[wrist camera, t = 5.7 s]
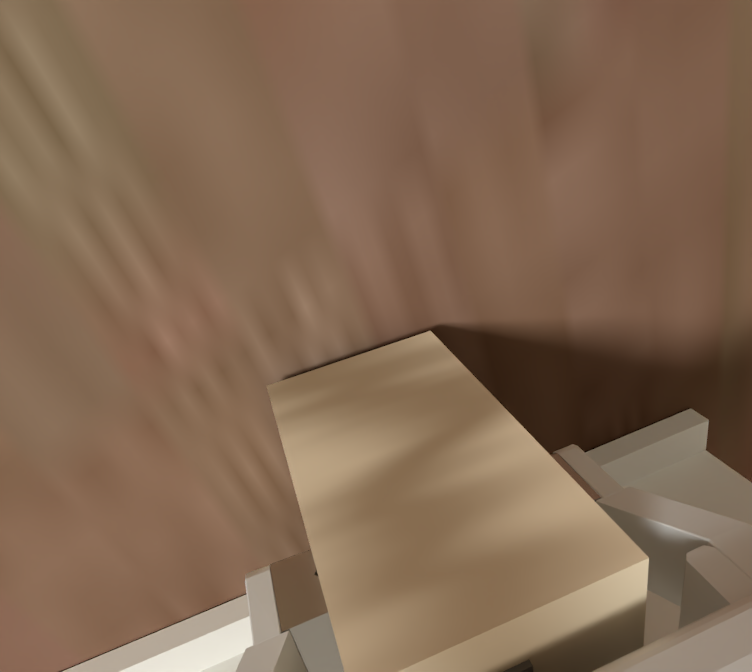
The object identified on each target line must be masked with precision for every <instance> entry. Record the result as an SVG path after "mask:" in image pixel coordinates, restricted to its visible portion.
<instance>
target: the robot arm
mask: <svg viewBox="0 0 752 672" xmlns="http://www.w3.org/2000/svg"><path fill="white" fill-rule="evenodd" d="M549 454H550V455H551V456H552V457H553V458H554V459H555V461H556V462H557V463H558V464H559V465H560V466H561V467H562V468H563V469H564V470H565V471H566V472H567V473H568V474H569V475H570V476H571V477H572V478H573V479H574V480H575V481H576V482H577V483H578V484H579V485H580V487H581V488H582V489H583V490H584V491H585V492H586V493H587V494H588V495H589V496H590V497H591V498H592V499H593V500H594V501H595V502H596V503H597V504H598V505H599V506H600V507H601V508H602V509H603V510H604V511H605V512H606V514H607V515H608V516H609V517H610V518H611V519H612V520H613V521H614V522H615V523H616V524H617V525H618V526H619V527H620V528H621V529H622V530H623V531H624V532H625V533H626V534H627V535H628V536H629V537H630V538H631V540H632V541H633V542H634V543H635V544H636V545H637V546H638V547H639V548H640V549H641V550H642V551H643V552H644V553H645V554H646V555H647V556H648V557H649V567H648V583H647V590H649V591H651V592H653V593H655V594H657V595H659V596H661V597H662V598H664V599H666V600H668V601H670V602H672V603H674V604H676V605H678V606H680V607H681V610H680V619H679V629H678V630H676V631H674V632H672V633H670V634H668V635H666V636H664V637H662V638H660V639H658V640H656V641H654V642H651V643H649V644H647V645H645V646H643V647H641V648H639V649H637V650H635V651H633V652H631V653H629V654H627V655H625V656H623V657H621V658H619V659H616V660H614V661H612V662H610V663H608V664H606V665H604V666H602V667H600V668H598V669H596V670H594V671H592V672H752V527H751V526H750V525H749V524H748V523H744V522H741V521H738V520H735V519H732V518H728V517H725V516H722V515H719V514H716V513H713V512H709V511H706V510H703V509H700V508H697V507H693V506H690V505H687V504H684V503H681V502H678V501H674V500H671V499H668V498H665V497H662V496H658V495H655V494H652V493H649V492H646V491H643V490H639V489H636V488H633V487H627V488H625V489H624V488H623V487H622V486H620V485H619V484H618V483H617V482H616V481H615V480H614V479H613V478H612V477H611V476H610V475H609V474H607V473H606V472H605V471H604V470H603V469H602V468H601V467H600V466H599V465H598V464H597V463H596V462H595V461H593V460H592V459H591V458H590V457H589V456H588V455H587V454H586V453H585V452H584V451H583V450H582V449H581V448H579V447H578V446H577V445H574V444H572V445H569V446H567V447H564V448H562V449H559V450H557V451H554V452H553V453H549ZM245 584H246V593H247V601H248V609H249V617H250V625H251V633H252V641H253V646H251V647H248V648H246V649H245V652H244V654H243V656H242V658H241V661H240V663H239V665H238V667H237V669H236V672H344V668H343V664H342V661H341V657H340V653H339V650H338V646H337V642H336V639H335V635H334V631H333V628H332V624H331V620H330V617H329V613H328V609H327V606H326V602H325V598H324V595H323V591H322V588H321V584H320V580H319V577H318V573H317V569H316V566H315V562H314V558H313V555H312V551H311V549H310V550H307V551H305V552H302V553H299V554H297V555H294V556H291V557H289V558H286V559H283V560H280V561H278V562H275V563H272V564H270V565H268V566H265V567H263V568H260V569H257V570H255V571H252V572H249V573H247V574H246V578H245Z"/></svg>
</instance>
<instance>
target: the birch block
mask: <svg viewBox="0 0 752 672" xmlns="http://www.w3.org/2000/svg"><path fill="white" fill-rule="evenodd" d="M267 390H268V393H269V397H270V401H271V404H272V408H273V412H274V415H275V419H276V423H277V426H278V430H279V434H280V437H281V441H282V445H283V448H284V452H285V456H286V459H287V463H288V467H289V470H290V474H291V478H292V481H293V485H294V489H295V492H296V496H297V500H298V503H299V507H300V511H301V514H302V518H303V522H304V525H305V529H306V533H307V536H308V540H309V544H310V547H311V551H312V555H313V558H314V562H315V566H316V569H317V573H318V577H319V580H320V584H321V588H322V591H323V595H324V598H325V602H326V606H327V609H328V613H329V617H330V620H331V624H332V628H333V631H334V635H335V639H336V642H337V646H338V650H339V653H340V657H341V661H342V664H343V668H344V672H592V671H594V670H596V669H598V668H600V667H602V666H604V665H606V664H608V663H610V662H612V661H614V660H616V659H619V658H621V657H623V656H625V655H627V654H629V653H631V652H633V651H635V650H637V649H639V648H641V647H643V646H644V630H645V614H646V599H647V583H648V567H649V557H648V556H647V555H646V554H645V553H644V552H643V551H642V550H641V549H640V548H639V547H638V546H637V545H636V544H635V543H634V542H633V541H632V540H631V538H630V537H629V536H628V535H627V534H626V533H625V532H624V531H623V530H622V529H621V528H620V527H619V526H618V525H617V524H616V523H615V522H614V521H613V520H612V519H611V518H610V517H609V516H608V515H607V514H606V512H605V511H604V510H603V509H602V508H601V507H600V506H599V505H598V504H597V503H596V502H595V501H594V500H593V499H592V498H591V497H590V496H589V495H588V494H587V493H586V492H585V491H584V490H583V489H582V488H581V487H580V485H579V484H578V483H577V482H576V481H575V480H574V479H573V478H572V477H571V476H570V475H569V474H568V473H567V472H566V471H565V470H564V469H563V468H562V467H561V466H560V465H559V464H558V463H557V462H556V461H555V459H554V458H553V457H552V456H551V455H550V454H549V453H548V452H547V451H546V450H545V449H544V448H543V447H542V446H541V445H540V444H539V443H538V442H537V441H536V440H535V439H534V438H533V437H532V436H531V435H530V434H529V432H528V431H527V430H526V429H525V428H524V427H523V426H522V425H521V424H520V423H519V422H518V421H517V420H516V419H515V418H514V417H513V416H512V415H511V414H510V413H509V412H508V411H507V410H506V409H505V408H504V406H503V405H502V404H501V403H500V402H499V401H498V400H497V399H496V398H495V397H494V396H493V395H492V394H491V393H490V392H489V391H488V390H487V389H486V388H485V387H484V386H483V385H482V384H481V383H480V382H479V381H478V379H477V378H476V377H475V376H474V375H473V374H472V373H471V372H470V371H469V370H468V369H467V368H466V367H465V366H464V365H463V364H462V363H461V362H460V361H459V360H458V359H457V358H456V357H455V356H454V355H453V353H452V352H451V351H450V350H449V349H448V348H447V347H446V346H445V345H444V344H443V343H442V342H441V341H440V340H439V339H438V338H437V337H436V336H435V335H434V334H433V333H432V332H431V331H428V332H425V333H422V334H419V335H416V336H413V337H410V338H407V339H404V340H401V341H398V342H395V343H392V344H389V345H386V346H383V347H380V348H377V349H375V350H372V351H369V352H366V353H363V354H360V355H357V356H354V357H351V358H348V359H345V360H342V361H339V362H336V363H333V364H330V365H327V366H324V367H321V368H318V369H315V370H312V371H309V372H306V373H303V374H300V375H297V376H294V377H291V378H289V379H286V380H283V381H280V382H277V383H274V384H271V385H268V386H267Z"/></svg>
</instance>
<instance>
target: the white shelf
mask: <svg viewBox="0 0 752 672" xmlns="http://www.w3.org/2000/svg"><path fill="white" fill-rule="evenodd" d="M708 424H709V420H708V419H707V418H705V417H704V416H702V415H700V414H699V413H697V412H696V411H694V410H693V409H691V408H690V409H688V410H686V411H683V412H681V413H678V414H676V415H674V416H671V417H669V418H666V419H664V420H662V421H659V422H657V423H654V424H652V425H650V426H647V427H645V428H643V429H640V430H638V431H635V432H633V433H631V434H628V435H626V436H623V437H621V438H619V439H616V440H614V441H611V442H609V443H607V444H604V445H602V446H600V447H597V448H595V449H592V450H590V451H588V452H585V453H586V454H587V455H588V456H589V457H590V458H591V459H592V460H593V461H595V462H596V463H597V464H598V465H599V466H600V467H601V468H602V469H603V470H604V471H605V472H606V473H607V474H609V475H610V476H611V477H612V478H613V479H614V480H615V481H616V482H617V483H618V484H619V485H620V486H622V487H623V488H624V489H625V488H627V487H633V488H636V489H639V490H643V491H646V492H649V493H652V494H655V495H658V496H662V497H665V498H668V499H671V500H674V501H678V502H681V503H684V504H687V505H690V506H693V507H697V508H700V509H703V510H706V511H709V512H713V513H716V514H719V515H722V516H725V517H728V518H732V519H735V520H738V521H741V522H744V523H748V524H749V525H750V526H751V527H752V483H751V482H750V481H749V480H747V479H746V478H744V477H743V476H742V475H740V474H739V473H737V472H736V471H735V470H733V469H732V468H730V467H729V466H727V465H726V464H725V463H723V462H722V461H720V460H719V459H718V458H716V457H715V456H713V455H712V454H711V453H709V452H708V451H706V443H707V434H708ZM680 610H681V607H680V606H678V605H676V604H674V603H672V602H670V601H668V600H666V599H664V598H662V597H661V596H659V595H657V594H655V593H653V592H651V591H649V590H647V599H646V614H645V630H644V646H645V645H647V644H649V643H651V642H654V641H656V640H658V639H660V638H662V637H664V636H666V635H668V634H670V633H672V632H674V631H676V630H678V629H679V619H680ZM251 646H253V641H252V633H251V625H250V617H249V609H248V601H247V594H246V595H244V596H241V597H239V598H236V599H234V600H232V601H229V602H227V603H225V604H222V605H220V606H217V607H215V608H213V609H210V610H208V611H205V612H203V613H201V614H198V615H196V616H193V617H191V618H189V619H186V620H184V621H182V622H179V623H177V624H174V625H172V626H170V627H167V628H165V629H162V630H160V631H158V632H155V633H153V634H150V635H148V636H146V637H143V638H141V639H139V640H136V641H134V642H131V643H129V644H127V645H124V646H122V647H119V648H117V649H115V650H112V651H110V652H107V653H105V654H103V655H100V656H98V657H96V658H93V659H91V660H88V661H86V662H84V663H81V664H79V665H76V666H74V667H72V668H69V669H67V670H64V671H62V672H236V669H237V667H238V665H239V663H240V661H241V658H242V656H243V654H244V652H245V649H246V648H248V647H251Z"/></svg>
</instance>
